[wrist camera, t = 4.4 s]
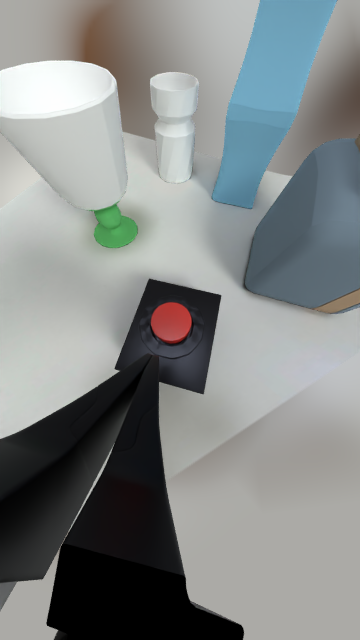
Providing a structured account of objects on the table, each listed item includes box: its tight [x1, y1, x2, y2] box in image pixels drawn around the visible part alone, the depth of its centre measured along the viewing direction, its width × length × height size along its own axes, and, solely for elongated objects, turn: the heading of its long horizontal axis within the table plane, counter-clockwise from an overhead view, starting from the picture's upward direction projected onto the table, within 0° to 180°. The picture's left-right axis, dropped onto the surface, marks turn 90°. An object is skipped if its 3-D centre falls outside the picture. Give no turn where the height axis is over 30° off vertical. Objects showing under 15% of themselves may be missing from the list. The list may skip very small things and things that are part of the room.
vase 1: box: [150, 72, 199, 184], centre depth 29 cm, size 9×9×12 cm
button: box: [151, 302, 192, 344], centre depth 14 cm, size 4×4×2 cm
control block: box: [115, 279, 221, 394], centre depth 18 cm, size 12×10×8 cm
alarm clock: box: [245, 135, 360, 314], centre depth 18 cm, size 16×16×16 cm
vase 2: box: [212, 0, 337, 209], centre depth 21 cm, size 10×10×25 cm
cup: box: [0, 61, 137, 248], centre depth 21 cm, size 14×14×16 cm
